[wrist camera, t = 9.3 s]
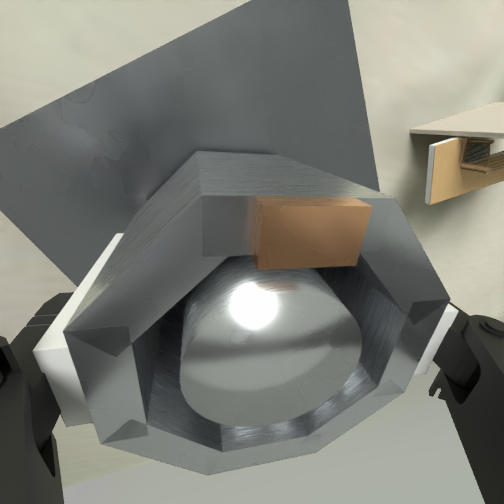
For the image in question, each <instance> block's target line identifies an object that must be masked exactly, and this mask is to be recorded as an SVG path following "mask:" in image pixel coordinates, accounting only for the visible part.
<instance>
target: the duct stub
mask: <svg viewBox="0 0 504 504" xmlns="http://www.w3.org/2000/svg"><path fill="white" fill-rule="evenodd" d="M196 151H209V152H228V153H248V154H267V155H281V156H284V157H286V158H289V159H292V160H294V161H297V162H300V163H302V164H305V165H308V166H310V167H313V168H316V169H318V170H321V171H324V172H326V173H329V174H332V175H334V176H337V177H340V178H343V179H345V180H348V181H351V182H353V183H356V184H359V185H361V186H364V187H367V188H369V189H372V190H375V191H377V192H380V189H379V183H378V177H377V171H376V165H375V160H374V154H373V148H372V142H371V136H370V130H369V124H368V118H367V112H366V106H365V100H364V94H363V88H362V82H361V76H360V70H359V64H358V58H357V52H356V46H355V40H354V34H353V28H352V22H351V16H350V10H349V4H348V0H251V1H249V2H247V3H245V4H243V5H241V6H239V7H237V8H235V9H233V10H231V11H229V12H228V13H226V14H224V15H222V16H220V17H218V18H216V19H214V20H212V21H210V22H208V23H206V24H204V25H202V26H200V27H198V28H196V29H194V30H192V31H190V32H188V33H186V34H185V35H183V36H181V37H179V38H177V39H175V40H173V41H171V42H169V43H167V44H165V45H163V46H161V47H159V48H157V49H155V50H153V51H151V52H149V53H147V54H145V55H143V56H142V57H140V58H138V59H136V60H134V61H132V62H130V63H128V64H126V65H124V66H122V67H120V68H118V69H116V70H114V71H112V72H110V73H108V74H106V75H104V76H102V77H100V78H98V79H97V80H95V81H93V82H91V83H89V84H87V85H85V86H83V87H81V88H79V89H77V90H75V91H73V92H71V93H69V94H67V95H65V96H63V97H61V98H59V99H57V100H55V101H54V102H52V103H50V104H48V105H46V106H44V107H42V108H40V109H38V110H36V111H34V112H32V113H30V114H28V115H26V116H24V117H22V118H20V119H18V120H16V121H14V122H12V123H11V124H9V125H7V126H5V127H3V128H1V129H0V211H2V212H3V213H4V214H5V215H6V216H7V217H8V218H9V219H10V220H11V221H12V222H13V223H14V224H15V225H16V226H17V227H18V228H19V229H20V230H21V231H22V232H23V233H24V234H25V235H26V236H27V237H28V238H29V239H30V240H31V241H32V242H33V243H34V244H35V245H36V246H37V247H38V248H39V249H40V250H41V251H42V252H43V253H44V254H45V255H46V256H47V257H48V258H49V259H50V260H51V261H52V262H53V263H54V264H55V265H56V266H57V267H58V268H59V269H60V270H61V271H62V272H63V273H64V274H65V275H66V276H67V277H68V278H69V279H70V280H71V281H72V282H73V283H74V284H75V285H76V286H77V287H79V285H80V284H81V282H82V281H83V280H84V278H85V277H86V275H87V274H88V273H89V271H90V270H91V268H92V267H93V266H94V264H95V263H96V262H97V260H98V259H99V257H100V256H101V255H102V253H103V252H104V250H105V249H106V248H107V246H108V245H109V243H110V242H111V241H112V239H113V238H114V236H115V235H116V234H117V233H124V232H125V231H126V229H127V228H128V226H129V224H130V223H131V221H132V220H133V218H134V216H135V215H136V213H137V212H138V210H139V209H140V208H141V207H142V206H143V205H144V204H145V203H146V202H147V201H148V200H149V199H150V198H151V197H152V196H153V195H154V194H155V193H156V192H157V191H158V190H159V189H160V188H161V187H162V186H163V185H164V184H165V183H166V182H167V181H168V180H169V179H170V178H171V176H172V175H173V174H174V173H175V172H176V171H177V170H178V169H179V168H180V167H181V166H182V165H183V164H184V163H185V162H186V161H187V160H188V159H189V158H190V157H191V156H192V155H193V154H194V153H195V152H196ZM361 350H362V336H361V331H360V328H359V326H358V323H357V322H356V320H355V318H354V317H353V316H352V314H351V313H350V312H349V311H348V309H347V308H346V307H345V306H344V304H343V303H342V302H341V301H340V299H339V298H338V297H337V296H336V294H335V293H334V292H333V291H332V289H331V288H330V287H329V286H328V284H327V283H326V282H325V281H324V279H323V278H322V277H321V276H320V274H319V273H318V272H317V271H316V270H315V268H295V269H274V270H257V268H256V266H255V264H254V261H253V259H252V257H251V255H244V256H228V257H227V258H226V259H225V260H224V261H222V262H221V263H220V264H219V265H218V266H217V267H216V268H215V269H214V270H213V271H211V272H210V273H209V274H208V275H207V276H206V277H205V278H204V279H203V280H201V281H200V282H199V283H198V284H197V285H196V286H195V287H194V288H193V289H191V290H190V291H189V292H188V293H187V294H186V295H185V302H184V317H183V333H182V348H181V364H180V387H181V390H182V393H183V396H184V398H185V399H186V401H187V403H188V404H189V405H190V406H191V407H192V409H193V410H195V411H196V412H197V413H198V414H200V415H201V416H203V417H205V418H207V419H209V420H211V421H214V422H216V423H220V424H223V425H229V426H236V427H258V426H266V425H271V424H276V423H280V422H284V421H287V420H290V419H293V418H295V417H298V416H300V415H303V414H305V413H307V412H309V411H311V410H312V409H314V408H316V407H317V406H319V405H321V404H322V403H324V402H325V401H326V400H328V399H329V398H330V397H332V396H333V395H334V394H335V393H336V392H337V391H338V390H339V389H340V388H341V387H342V386H343V385H344V384H345V383H346V381H347V380H348V379H349V378H350V376H351V375H352V373H353V372H354V370H355V368H356V366H357V364H358V361H359V358H360V355H361Z"/></svg>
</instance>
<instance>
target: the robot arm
mask: <svg viewBox="0 0 504 504" xmlns="http://www.w3.org/2000/svg"><path fill="white" fill-rule="evenodd" d="M123 234H124V233H117V234H116V235H115V236H114V238H113V239H112V241H111V242H110V243H109V245H108V246H107V248H106V249H105V250H104V252H103V253H102V255H101V256H100V257H99V259H98V260H97V262H96V263H95V264H94V266H93V267H92V268H91V270H90V271H89V273H88V274H87V275H86V277H85V278H84V280H83V281H82V282H81V284H80V285H79V287H78V288H77V289H76V291H75V292H72V293H59V294H58V295H56V296H55V297H53V298H52V299H50V300H49V301H47V302H46V303H44V304H43V305H42V307H41V308H40V309H39V310H38V311H37V313H36V314H35V317H32V319H31V320H30V321H29V322H28V323H27V326H26V327H24V328H23V329H22V330H21V332H20V333H19V334H18V335H17V336H16V338H15V339H14V340H13V341H12V342H11V344H10V345H9V344H8V342H7V340H6V338H4V337H1V336H0V504H64V499H63V491H62V483H61V475H60V468H59V460H58V452H57V444H56V439H55V437H54V435H53V433H52V430H53V428H54V426H55V424H56V422H57V420H58V417H59V415H60V414H61V416H62V419H63V421H64V423H65V425H66V427H68V426H75V425H81V424H88V423H93V420H92V417H91V414H90V411H89V408H88V405H87V402H86V399H85V396H84V393H83V390H82V387H81V384H80V382H79V379H78V376H77V373H76V370H75V367H74V364H73V361H72V358H71V355H70V352H69V349H68V346H67V343H66V340H65V337H64V334H63V330H64V328H65V327H66V325H67V323H68V322H69V320H70V319H71V317H72V315H73V314H74V312H75V311H76V309H77V307H78V306H79V304H80V303H81V301H82V299H83V298H84V296H85V295H86V293H87V292H88V290H89V288H90V287H91V285H92V284H93V282H94V280H95V279H96V277H97V276H98V274H99V272H100V271H101V269H102V268H103V266H104V264H105V263H106V261H107V260H108V258H109V256H110V255H111V253H112V252H113V250H114V248H115V247H116V245H117V244H118V242H119V240H120V239H121V237H122V236H123ZM432 361H434V362H435V363H436V364H437V365H438V366H439V367H440V368H441V369H440V371H439V373H438V374H437V376H436V378H435V380H434V382H433V383H432V385H431V387H430V389H429V396H432V397H433V396H434V394H435V392H436V390H437V389H438V388H441V392H440V394H439V396H438V398H439V399H443V400H445V401H446V404H447V406H448V408H449V411H450V413H451V417H452V419H453V422H454V424H455V427H456V429H457V432H458V435H459V437H460V440H461V442H462V445H463V447H464V450H465V453H466V455H467V458H468V460H469V463H470V466H471V468H472V471H473V473H474V476H475V479H476V481H477V484H478V486H479V489H480V491H481V494H482V497H483V499H484V502H485V504H504V323H503V322H501V321H499V320H496V319H494V318H490V317H487V316H482V315H473V316H469V315H468V314H466V313H465V312H463V311H462V310H461V309H459V308H458V307H456V306H455V305H454V304H452V303H451V302H449V303H448V305H447V307H446V309H445V311H444V313H443V315H442V317H441V319H440V321H439V323H438V325H437V327H436V329H435V331H434V333H433V335H432V337H431V339H430V341H429V343H428V346H427V348H426V350H425V352H424V354H423V356H422V358H421V360H420V362H419V364H418V366H417V368H416V370H415V372H414V374H413V376H415V375H421V374H426V373H427V371H428V369H429V367H430V365H431V363H432Z"/></svg>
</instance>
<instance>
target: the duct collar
mask: <svg viewBox="0 0 504 504" xmlns="http://www.w3.org/2000/svg"><path fill="white" fill-rule="evenodd" d="M244 255H251V257H252V259H253V261H254V264H255V266H256V268H257V270H274V269H295V268H315V270H316V271H317V272H318V273H319V274H320V276H321V277H322V278H323V279H324V281H325V282H326V283H327V284H328V286H329V287H330V288H331V289H332V291H333V292H334V293H335V294H336V296H337V297H338V298H339V299H340V301H341V302H342V303H343V304H344V306H345V307H346V308H347V309H348V311H349V312H350V313H351V314H352V316H353V317H354V318H355V320H356V322H357V323H358V326H359V328H360V331H361V336H362V350H361V355H360V358H359V361H358V364H357V366H356V368H355V370H354V372H353V373H352V375H351V376H350V378H349V379H348V380H347V381H346V383H345V384H344V385H343V386H342V387H341V388H340V389H339V390H338V391H337V392H336V393H335V394H334V395H333V396H332V397H330V398H329V399H328V400H326V401H325V402H324V403H322V404H321V405H319V406H317V407H316V408H314V409H312V410H311V411H309V412H307V413H305V414H303V415H300V416H298V417H295V418H293V419H290V420H287V421H284V422H280V423H276V424H271V425H266V426H258V427H236V426H229V425H223V424H220V423H216V422H214V421H211V420H209V419H207V418H205V417H203V416H201V415H200V414H198V413H197V412H196V411H195V410H193V409H192V407H191V406H190V405H189V404H188V403H187V401H186V399H185V398H184V396H183V393H182V390H181V387H180V364H181V348H182V333H183V317H184V302H185V295H186V294H187V293H188V292H189V291H190V290H191V289H193V288H194V287H195V286H196V285H197V284H198V283H199V282H200V281H201V280H203V279H204V278H205V277H206V276H207V275H208V274H209V273H210V272H211V271H213V270H214V269H215V268H216V267H217V266H218V265H219V264H220V263H221V262H222V261H224V260H225V259H226V258H227V257H228V256H244ZM449 301H450V297H449V295H448V293H447V291H446V290H445V288H444V286H443V284H442V282H441V281H440V279H439V277H438V275H437V273H436V271H435V270H434V268H433V266H432V264H431V262H430V261H429V259H428V257H427V255H426V253H425V251H424V250H423V248H422V246H421V244H420V242H419V240H418V239H417V237H416V235H415V233H414V231H413V230H412V228H411V226H410V224H409V222H408V220H407V219H406V217H405V215H404V213H403V211H402V210H401V208H400V206H399V204H398V202H397V200H396V199H395V198H393V197H391V196H388V195H385V194H383V193H380V192H377V191H375V190H372V189H369V188H367V187H364V186H361V185H359V184H356V183H353V182H351V181H348V180H345V179H343V178H340V177H337V176H334V175H332V174H329V173H326V172H324V171H321V170H318V169H316V168H313V167H310V166H308V165H305V164H302V163H300V162H297V161H294V160H292V159H289V158H286V157H284V156H281V155H267V154H248V153H228V152H209V151H196V152H195V153H194V154H193V155H192V156H191V157H190V158H189V159H188V160H187V161H186V162H185V163H184V164H183V165H182V166H181V167H180V168H179V169H178V170H177V171H176V172H175V173H174V174H173V175H172V176H171V178H170V179H169V180H168V181H167V182H166V183H165V184H164V185H163V186H162V187H161V188H160V189H159V190H158V191H157V192H156V193H155V194H154V195H153V196H152V197H151V198H150V199H149V200H148V201H147V202H146V203H145V204H144V205H143V206H142V207H141V208H140V209H139V210H138V212H137V213H136V215H135V216H134V218H133V220H132V221H131V223H130V224H129V226H128V228H127V229H126V231H125V232H124V234H123V236H122V237H121V239H120V240H119V242H118V244H117V245H116V247H115V248H114V250H113V252H112V253H111V255H110V256H109V258H108V260H107V261H106V263H105V264H104V266H103V268H102V269H101V271H100V272H99V274H98V276H97V277H96V279H95V280H94V282H93V284H92V285H91V287H90V288H89V290H88V292H87V293H86V295H85V296H84V298H83V299H82V301H81V303H80V304H79V306H78V307H77V309H76V311H75V312H74V314H73V315H72V317H71V319H70V320H69V322H68V323H67V325H66V327H65V328H64V330H63V334H64V337H65V340H66V343H67V346H68V349H69V352H70V355H71V358H72V361H73V364H74V367H75V370H76V373H77V376H78V379H79V382H80V384H81V387H82V390H83V393H84V396H85V399H86V402H87V405H88V408H89V411H90V414H91V417H92V420H93V423H94V426H95V429H96V432H97V435H98V438H99V441H100V444H103V445H106V446H110V447H113V448H117V449H120V450H123V451H127V452H130V453H133V454H137V455H140V456H144V457H147V458H150V459H154V460H157V461H160V462H164V463H167V464H171V465H174V466H177V467H181V468H184V469H188V470H191V471H194V472H198V473H201V474H205V475H212V474H216V473H221V472H226V471H230V470H235V469H240V468H245V467H250V466H254V465H259V464H264V463H269V462H274V461H278V460H283V459H288V458H293V457H298V456H302V455H307V454H312V453H316V452H317V451H319V450H320V449H322V448H323V447H325V446H326V445H327V444H329V443H331V442H332V441H333V440H335V439H336V438H338V437H339V436H341V435H342V434H344V433H345V432H347V431H348V430H349V429H351V428H353V427H354V426H355V425H357V424H358V423H360V422H361V421H363V420H364V419H366V418H367V417H369V416H370V415H372V414H373V413H374V412H376V411H378V410H379V409H380V408H382V407H383V406H385V405H386V404H388V403H389V402H391V401H392V400H393V399H395V398H397V397H398V396H400V395H401V394H402V393H404V392H405V390H406V388H407V386H408V384H409V382H410V380H411V378H412V376H413V374H414V372H415V370H416V368H417V366H418V364H419V362H420V360H421V358H422V356H423V354H424V352H425V350H426V348H427V346H428V343H429V341H430V339H431V337H432V335H433V333H434V331H435V329H436V327H437V325H438V323H439V321H440V319H441V317H442V315H443V313H444V311H445V309H446V307H447V305H448V303H449Z"/></svg>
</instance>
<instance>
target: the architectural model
mask: <svg viewBox="0 0 504 504" xmlns="http://www.w3.org/2000/svg"><path fill="white" fill-rule="evenodd" d="M410 133H418V134H435V135H452V136H457V137H454V138H450V139H447V140H444V141H441V142H438V143H435V144H432V145H429V157H428V169H427V182H426V195H425V203H426V204H429V205H432V204H435V203H438V202H441V201H444V200H447V199H450V198H453V197H456V196H459V195H462V194H465V193H468V192H471V191H474V190H477V189H480V188H483V187H486V186H489V185H492V184H495V183H498V182H501V181H504V151H501V152H498V153H495V154H492V155H490V144H492V143H494V140H479V139H468V136H470V137H487V138H504V102H496V103H491V104H488V105H485V106H481V107H478V108H475V109H472V110H469V111H466V112H462V113H459V114H456V115H453V116H450V117H447V118H443V119H440V120H437V121H434V122H431V123H428V124H425V125H421V126H418V127H415V128H412V129H410ZM469 142H476V143H475V145H474V146H472V147H471V148H470V149H468V144H469ZM481 143H488V145H486V146H485V147H483V148H481V149H479V150H478V151H476V152H473V153H471V154H469V155H467V156H466V153H467V152H469V151H471V150H473V149H474V148H476V147H478V146H479V145H480V144H481ZM486 148H488V151H487V152H485V153H482V154H480V155H477V156H475V157H472V158H469V159H467V160H470V159H473V158H476V157H479V156H481V155H484V154H487V153H488V156H485V157H482V158H479V159H476V160H474V161H471V162H467V163H464V162H465V161H467V160H465V158H466V157H468V156H471V155H473V154H475V153H478V152H480V151H482V150H484V149H486ZM467 149H468V150H467Z"/></svg>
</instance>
